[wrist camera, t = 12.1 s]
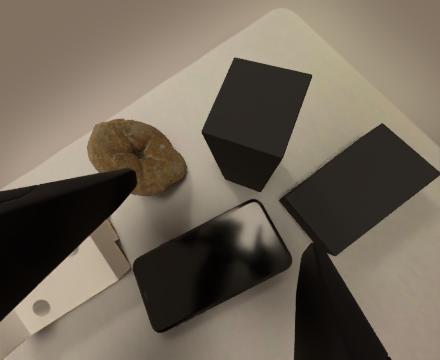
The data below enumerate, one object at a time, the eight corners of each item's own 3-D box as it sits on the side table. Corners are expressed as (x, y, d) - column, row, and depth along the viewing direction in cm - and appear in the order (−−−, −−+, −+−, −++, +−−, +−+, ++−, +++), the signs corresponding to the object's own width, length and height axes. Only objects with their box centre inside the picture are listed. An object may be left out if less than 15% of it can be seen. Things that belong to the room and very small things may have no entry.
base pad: (320, 250, 18) (335, 256, 15) (278, 200, 20) (284, 197, 17) (411, 180, 19) (442, 173, 16) (362, 136, 20) (382, 122, 17)
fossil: (139, 207, 16) (61, 129, 16) (132, 224, 19) (67, 158, 19) (199, 164, 22) (142, 108, 22) (186, 182, 25) (137, 133, 25)
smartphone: (257, 195, 20) (133, 259, 20) (257, 194, 19) (128, 261, 20) (294, 263, 18) (158, 333, 19) (297, 265, 17) (154, 339, 18)
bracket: (43, 320, 21) (-52, 398, 14) (11, 271, 21) (-102, 323, 14) (135, 263, 21) (89, 309, 14) (103, 213, 21) (39, 233, 14)
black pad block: (260, 192, 20) (282, 158, 9) (224, 178, 21) (200, 131, 10) (275, 153, 21) (313, 74, 9) (239, 142, 22) (234, 56, 10)
